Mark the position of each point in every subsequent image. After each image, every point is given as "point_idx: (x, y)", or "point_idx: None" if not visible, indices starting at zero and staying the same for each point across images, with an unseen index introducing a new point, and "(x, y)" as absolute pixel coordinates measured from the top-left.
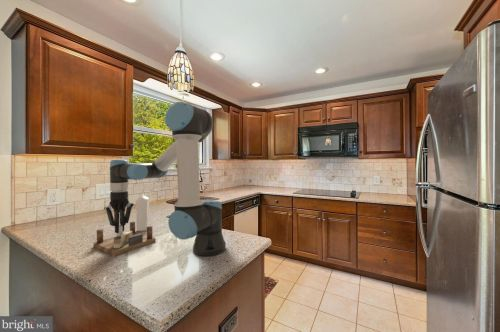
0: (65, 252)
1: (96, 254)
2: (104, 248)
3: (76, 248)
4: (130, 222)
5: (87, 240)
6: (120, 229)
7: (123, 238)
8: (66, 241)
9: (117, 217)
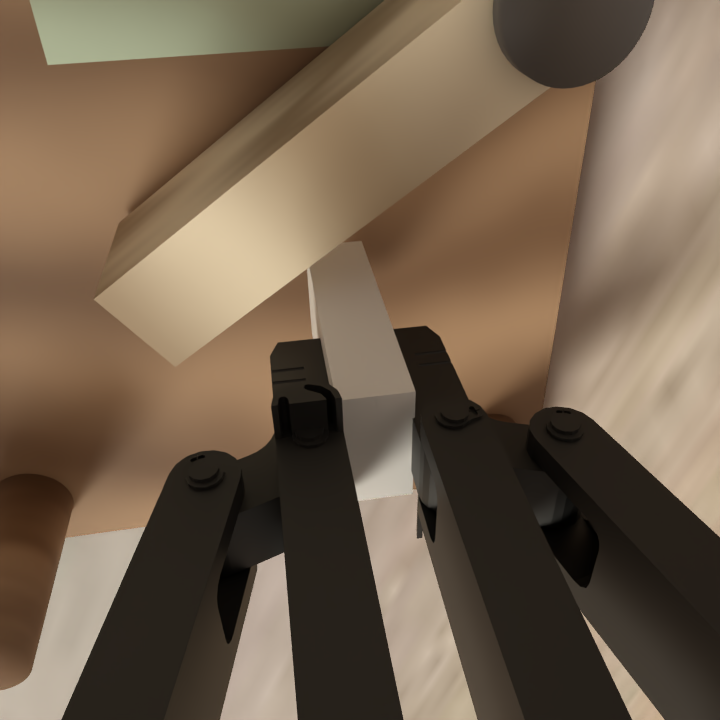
0: (712, 465)
1: (649, 159)
2: (570, 189)
3: None
4: (16, 675)
5: (446, 628)
6: (373, 347)
7: (410, 25)
8: None
9: (548, 600)
